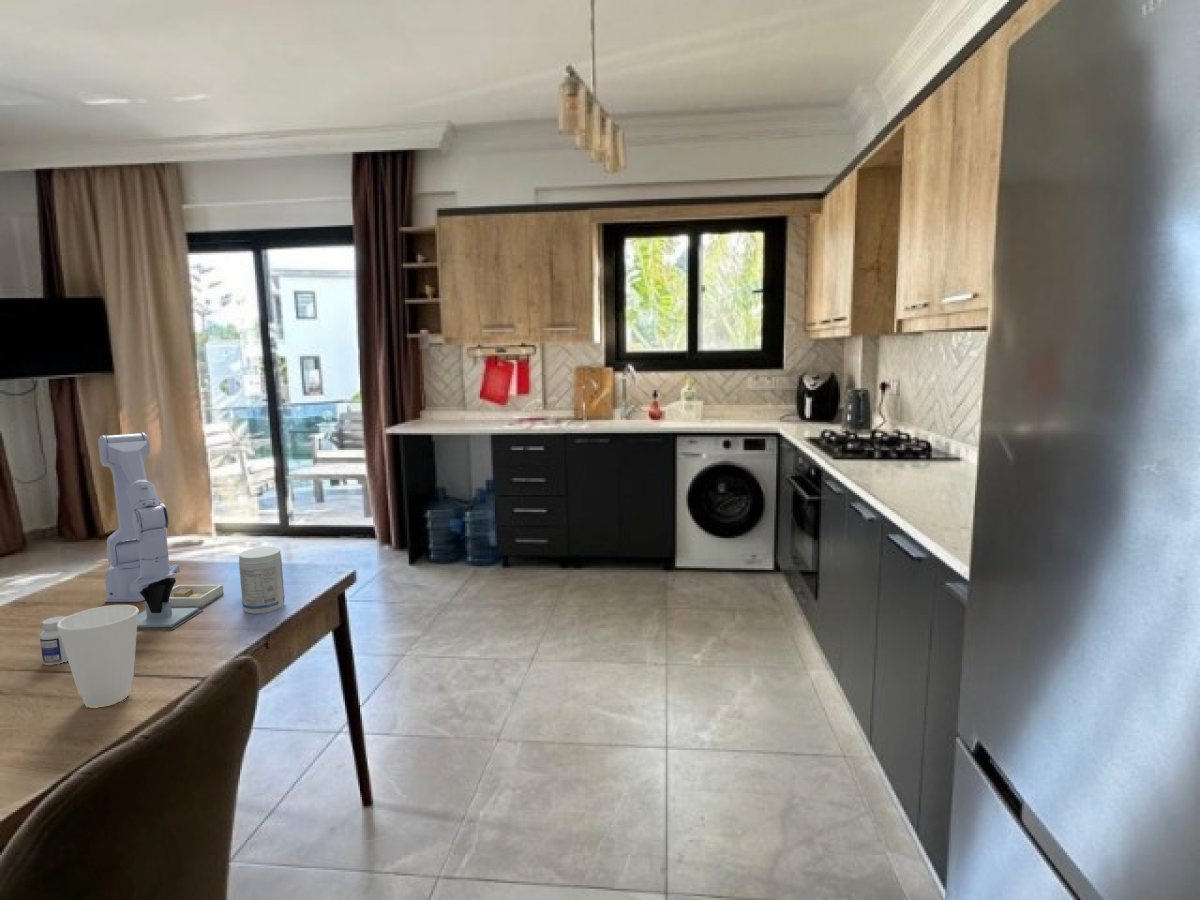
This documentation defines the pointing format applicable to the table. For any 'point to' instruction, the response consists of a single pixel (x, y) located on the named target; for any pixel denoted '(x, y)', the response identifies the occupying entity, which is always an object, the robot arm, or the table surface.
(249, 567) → the supplement tub
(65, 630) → the cup
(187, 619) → the mat
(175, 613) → the lid
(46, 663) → the pill bottle
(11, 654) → the table surface
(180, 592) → the storage box
